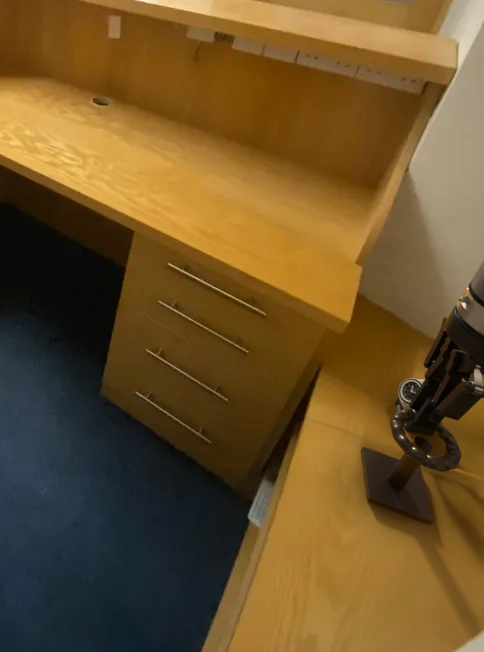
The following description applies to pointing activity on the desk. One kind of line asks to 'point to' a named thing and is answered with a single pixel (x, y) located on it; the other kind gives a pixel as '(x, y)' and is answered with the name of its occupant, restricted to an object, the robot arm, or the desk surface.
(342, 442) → the desk surface
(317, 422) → the desk surface
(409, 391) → the watch
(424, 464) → the brown beaded bracelet ring
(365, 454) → the stand
